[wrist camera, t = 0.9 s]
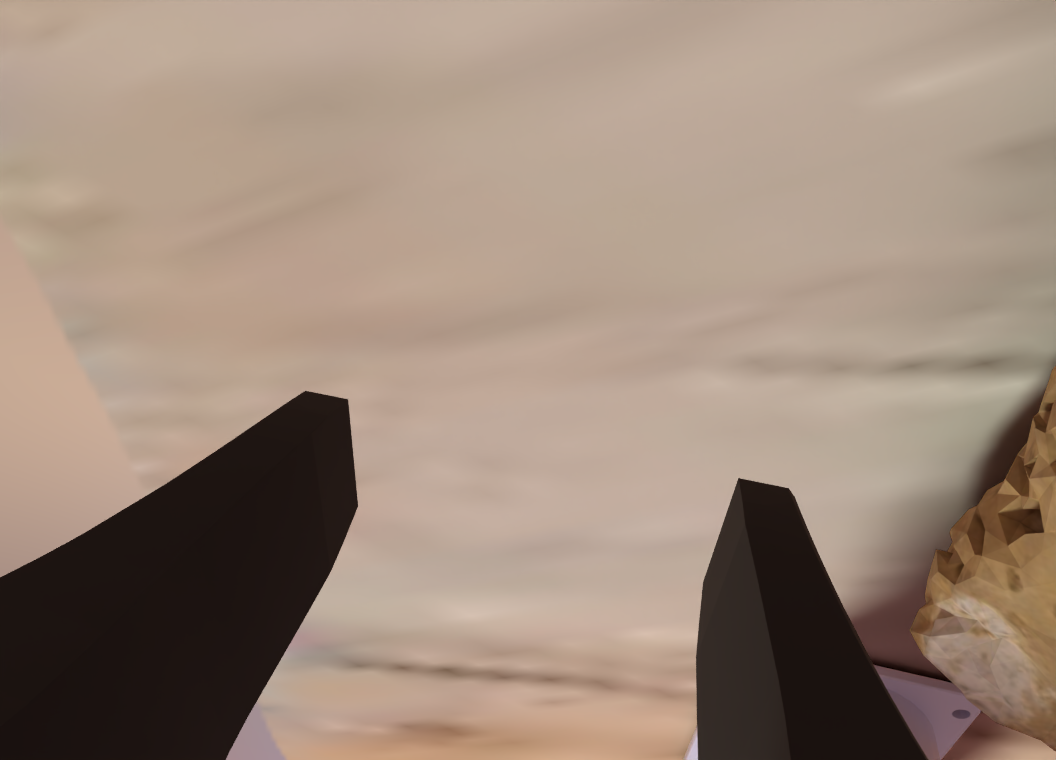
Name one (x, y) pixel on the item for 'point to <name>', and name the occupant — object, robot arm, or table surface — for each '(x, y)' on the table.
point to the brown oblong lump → (1002, 592)
